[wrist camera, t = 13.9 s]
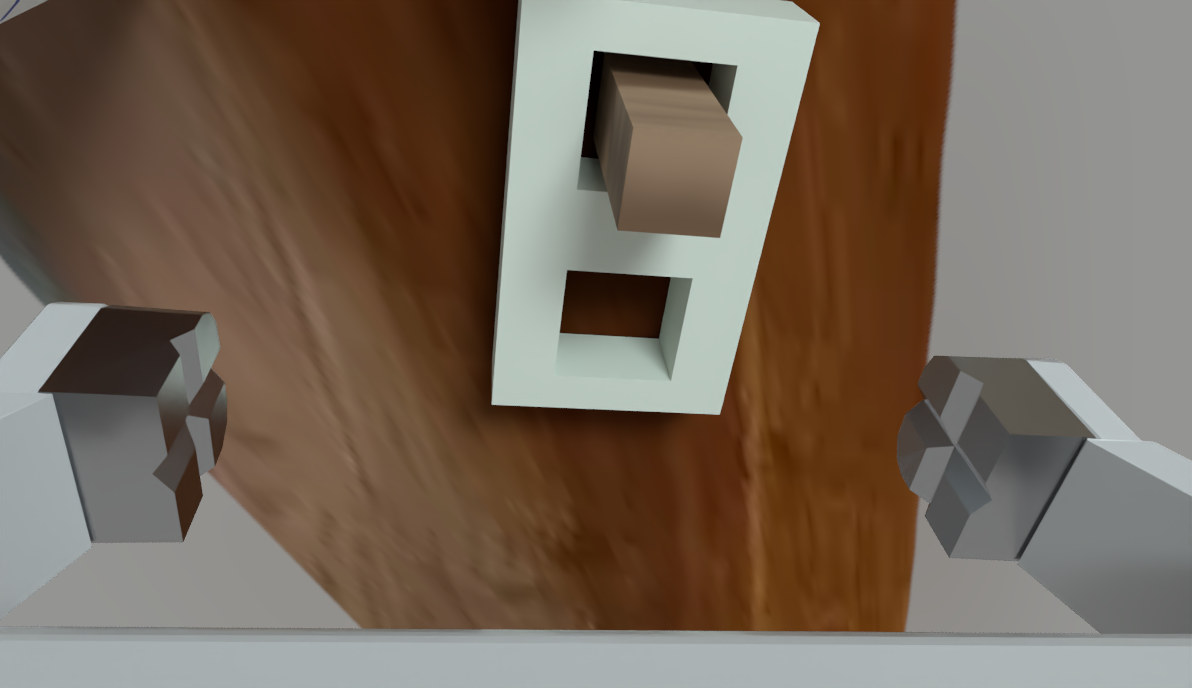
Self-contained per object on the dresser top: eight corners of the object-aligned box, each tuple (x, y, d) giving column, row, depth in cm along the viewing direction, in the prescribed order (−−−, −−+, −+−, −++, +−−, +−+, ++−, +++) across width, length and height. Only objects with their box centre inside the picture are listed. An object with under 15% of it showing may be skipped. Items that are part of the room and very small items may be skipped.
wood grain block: (604, 51, 39) (633, 127, 30) (690, 61, 39) (742, 137, 31) (593, 137, 41) (617, 230, 32) (675, 145, 41) (720, 238, 33)
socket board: (520, -31, 36) (522, -11, 33) (791, 1, 38) (819, 23, 35) (492, 360, 47) (491, 404, 44) (704, 371, 49) (719, 414, 45)
